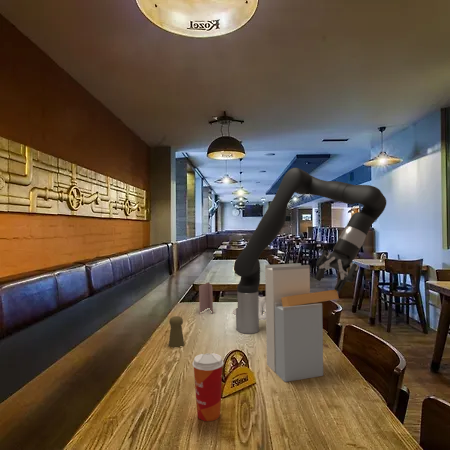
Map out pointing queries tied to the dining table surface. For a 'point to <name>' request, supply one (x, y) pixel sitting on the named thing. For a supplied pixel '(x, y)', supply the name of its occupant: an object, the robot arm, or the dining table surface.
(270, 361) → the tall pale grey pillar
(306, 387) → the dining table surface
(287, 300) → the bar
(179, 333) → the cork
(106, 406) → the dining table surface
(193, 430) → the dining table surface
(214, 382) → the paper cup
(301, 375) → the grey box
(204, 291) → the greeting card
